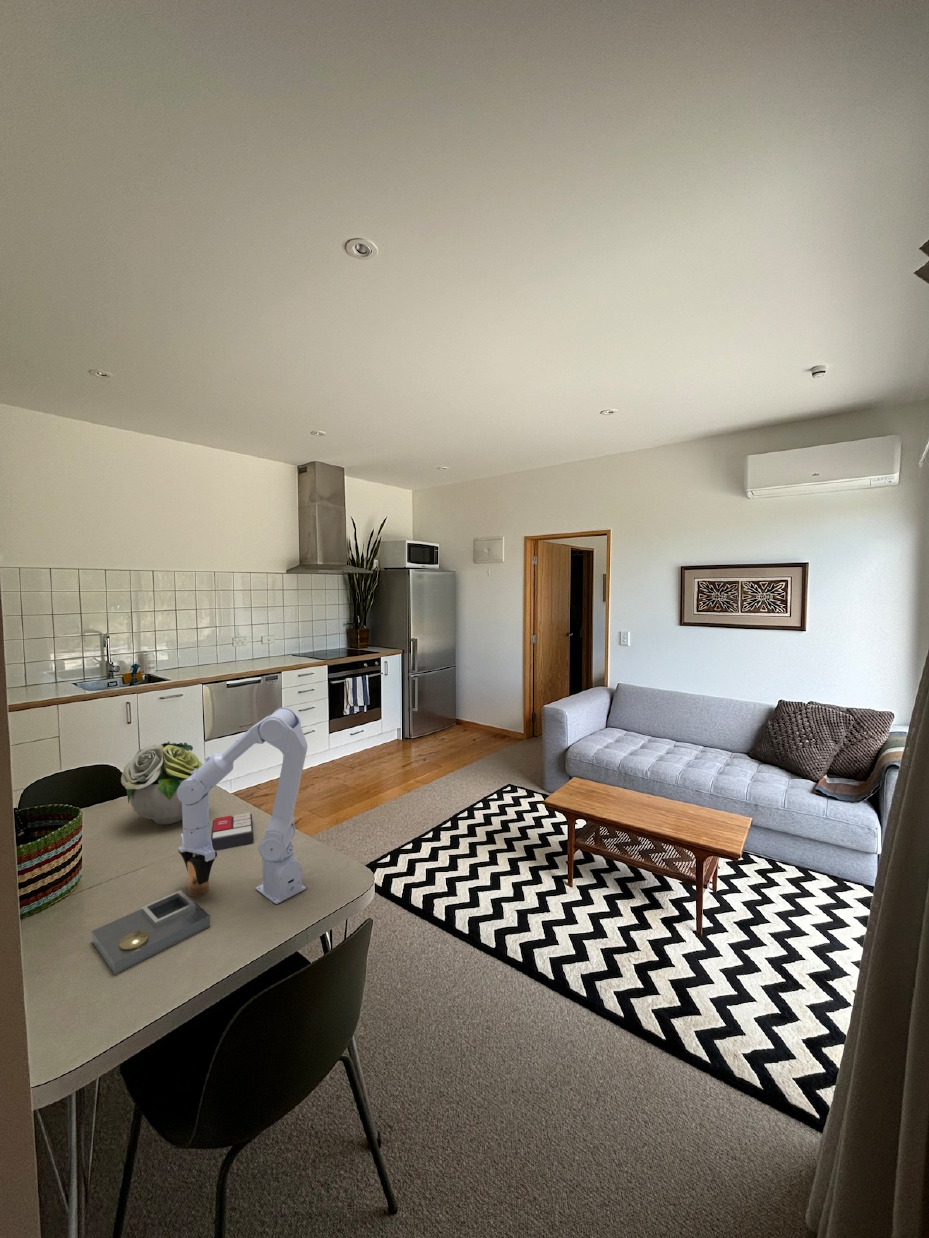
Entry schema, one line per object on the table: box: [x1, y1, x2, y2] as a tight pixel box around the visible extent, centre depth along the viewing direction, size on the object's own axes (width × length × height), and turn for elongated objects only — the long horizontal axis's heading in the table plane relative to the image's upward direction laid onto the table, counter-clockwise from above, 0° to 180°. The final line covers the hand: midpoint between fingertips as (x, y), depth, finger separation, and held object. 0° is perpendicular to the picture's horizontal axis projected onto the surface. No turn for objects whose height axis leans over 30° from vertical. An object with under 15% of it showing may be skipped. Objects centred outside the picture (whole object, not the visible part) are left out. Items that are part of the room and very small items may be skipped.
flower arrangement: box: [120, 741, 204, 826], centre depth 161 cm, size 25×25×24 cm
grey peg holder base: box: [91, 889, 211, 976], centre depth 109 cm, size 14×18×4 cm
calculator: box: [210, 812, 254, 852], centre depth 152 cm, size 11×4×15 cm
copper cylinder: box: [187, 853, 210, 898], centre depth 124 cm, size 4×4×10 cm
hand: (198, 878), depth 124 cm, fingers closed on copper cylinder, 4 cm apart
